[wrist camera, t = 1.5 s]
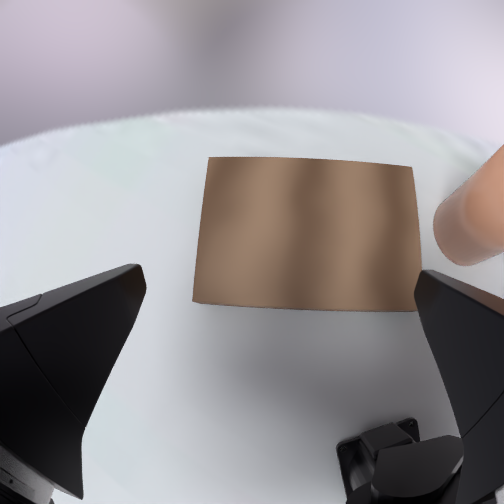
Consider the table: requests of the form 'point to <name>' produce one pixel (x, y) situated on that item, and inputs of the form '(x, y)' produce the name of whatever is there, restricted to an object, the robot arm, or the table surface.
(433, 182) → the table surface
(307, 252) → the shelf board
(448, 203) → the peach cylinder
